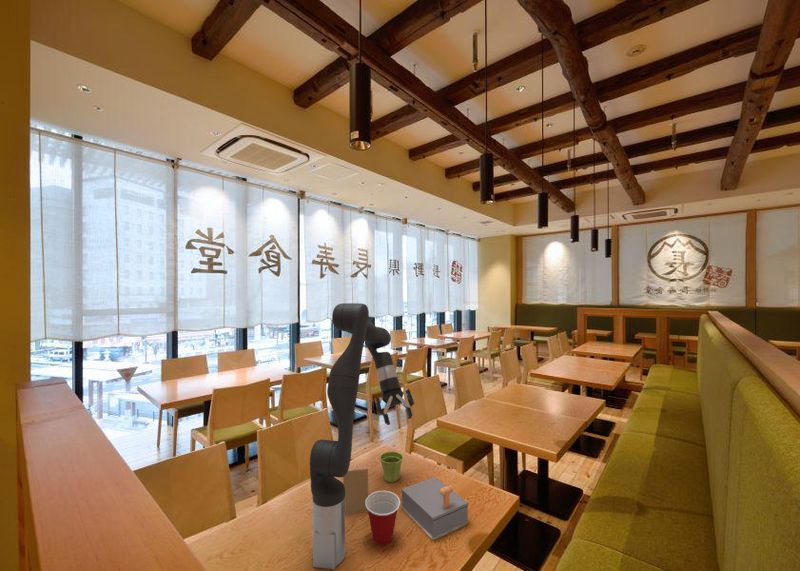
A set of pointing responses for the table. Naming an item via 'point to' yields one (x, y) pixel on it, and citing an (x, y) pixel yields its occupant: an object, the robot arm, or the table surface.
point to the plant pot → (391, 465)
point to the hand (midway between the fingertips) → (399, 421)
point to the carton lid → (434, 498)
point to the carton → (436, 526)
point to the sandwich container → (356, 490)
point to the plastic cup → (382, 515)
